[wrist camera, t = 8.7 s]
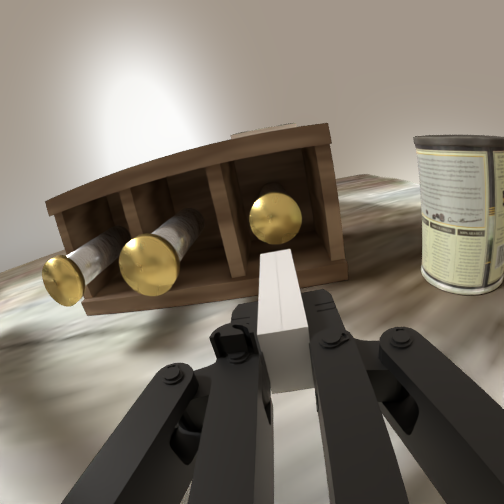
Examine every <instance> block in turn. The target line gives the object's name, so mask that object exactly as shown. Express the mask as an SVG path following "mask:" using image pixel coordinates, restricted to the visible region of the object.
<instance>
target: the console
mask: <svg viewBox="0 0 504 504" xmlns="http://www.w3.org/2000/svg"><path fill="white" fill-rule="evenodd" d="M331 143H332V142H331V136H330V131H329V126H328V123H323V124H315V125H308V126H301V127H297V126H296V123H290V124H284V125H279V126H275V127H266V128H261V129H257V130H254V131H247V132H241V133H237V134H233V135H231V140H226V141H222V142H218V143H213V144H209V145H205V146H201V147H198V148H194V149H190V150H186V151H182V152H179V153H175V154H172V155H169V156H165V157H162V158H158V159H155V160H152V161H149V162H146V163H143V164H139V165H137V166H134V167H130V168H127V169H124V170H122V171H119V172H116V173H113V174H110V175H108V176H105V177H102V178H100V179H97V180H94V181H92V182H89V183H87V184H84V185H82V186H79V187H77V188H75V189H72V190H70V191H67V192H65V193H63V194H60V195H58V196H56V197H54V198H51V199H49V200H47V201H45V203H46V207H47V210H48V214H49V216H52V215H54V216H55V220H56V223H57V226H58V229H59V233H60V236H61V238H62V242H63V245H64V247H65V250H66V253H67V256H68V255H69V254H71V253H72V252H74V251H75V250H77V249H78V248H80V247H81V246H83V245H84V244H86V243H88V242H89V241H91V240H92V239H94V238H95V237H97V236H99V235H100V234H102V233H104V232H105V231H107V230H109V229H110V228H112V227H114V226H116V225H120V226H123V227H125V228H126V229H127V230H128V231H129V233H130V235H131V240H132V239H134V238H135V237H136V236H138V235H141V234H146V233H153V232H154V231H155V230H156V229H158V228H159V227H160V226H161V225H163V224H164V223H165V222H166V221H168V220H169V219H170V218H171V217H173V216H174V215H175V214H177V213H178V212H179V211H181V210H182V209H184V208H193V209H196V210H197V211H199V212H200V213H201V215H202V216H203V218H204V228H203V231H202V232H201V233H200V235H199V236H198V237H197V239H196V240H195V241H194V243H193V244H192V246H191V247H190V248H189V250H188V251H187V252H186V254H185V255H184V257H183V258H182V259H181V261H180V272H179V275H178V277H177V279H176V281H175V282H174V284H173V285H172V287H171V288H170V289H169V290H168V291H167V292H166V293H164V294H162V295H158V296H147V295H143V294H141V293H138V292H137V291H135V290H134V289H132V288H131V287H130V286H129V285H128V284H127V282H126V281H125V280H124V278H123V276H122V274H121V271H120V267H119V257H118V258H117V259H116V260H115V261H114V262H112V263H111V264H110V265H109V266H108V267H107V268H105V269H104V270H103V271H102V272H101V273H100V274H98V275H97V276H96V277H95V278H94V279H93V280H92V281H90V282H89V283H88V284H87V285H86V288H85V293H84V295H83V296H84V298H85V299H84V300H83V301H82V302H81V303H82V306H83V308H84V310H85V312H86V314H87V316H88V315H100V314H111V313H121V312H131V311H141V310H150V309H159V308H168V307H176V306H184V305H192V304H200V303H207V302H214V301H222V300H229V299H235V298H242V297H249V296H255V295H259V276H260V254H265V253H270V252H276V251H281V250H287V249H290V250H291V254H292V259H293V263H294V267H295V271H296V275H297V280H298V284H299V288H304V287H310V286H315V285H321V284H326V283H332V282H337V281H342V280H348V266H347V261H346V260H345V254H344V243H343V234H342V224H341V216H340V208H339V200H338V193H337V186H336V179H335V172H334V166H333V160H332V154H331V149H330V144H331ZM268 183H278V184H280V185H281V186H282V187H283V188H284V189H285V192H286V194H287V195H289V196H290V197H292V198H293V199H294V200H295V202H296V203H297V205H298V207H299V209H300V211H301V216H302V222H301V227H300V229H299V231H298V233H297V234H296V235H295V237H293V238H292V239H291V240H289V241H288V242H285V243H282V244H269V243H266V242H263V241H262V240H260V239H259V238H258V237H256V235H255V234H254V233H253V231H252V229H251V227H250V222H249V216H250V211H251V208H252V205H253V204H254V202H255V201H256V200H257V199H258V198H259V196H260V191H261V189H262V188H263V187H264V186H265V185H266V184H268Z"/></svg>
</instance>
